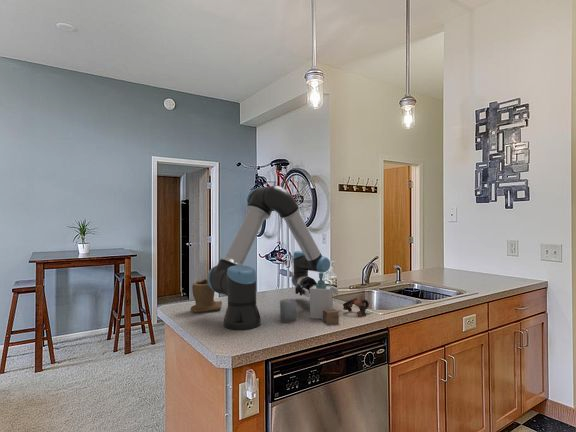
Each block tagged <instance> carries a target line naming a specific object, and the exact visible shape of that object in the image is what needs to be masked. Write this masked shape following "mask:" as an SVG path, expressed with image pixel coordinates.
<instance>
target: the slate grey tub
mask: <svg viewBox="0 0 576 432" xmlns="http://www.w3.org/2000/svg"><path fill="white" fill-rule="evenodd" d="M297 309H298V308H297V300H296V299H293V298H289V299H288V298H287V299H281V300H280V301H279V311H280V312H279V313H280V314H279V317H280V322H282V321H283V323H294V322H296V321H297V320H298V318H297V317H298V315H297V314H298V312H297V311H298V310H297Z"/></svg>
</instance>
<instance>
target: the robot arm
mask: <svg viewBox="0 0 576 432" xmlns="http://www.w3.org/2000/svg"><path fill="white" fill-rule="evenodd" d="M246 202H247V204H246V205H247V206H246V211H247V214H246V215H245V217H244V219H243V221H242V223H241V225H240V227H239V228H238V231H237V232H236V235H235V237H234V239H233V241H232V243H231V244H230V247H229V249H228V251H227V253H226V255H225V257H222V258H220V259H219V260H218V263H217V265H214V266H212V267H211V268H210V269H209V271H208V273H207V278H206V279H207V282H208V285H209V287H210V288H211V289H212V290H213V291H215V293H218V294H220V295H221V294H222V295H225V296H227V308H226V311H225V315H224V317H223V327H224V328H225V329H228V330H235V331H237V330H250V329H251V330H252V329H255V328H257V327H259V326H261V325H262V318H261V315H260V311H259V308H258V305H257V274H256V273H257V272H256V270H255V268H253V267H251V266H249V265H244V263H245V261H246V259H247V257H248V255H249V252H250V250H251V248H252V247H253V244H254V242H255V240H256V238H257V236H258V234H259V232H260V229H261V227H262V225H263V224H264V221H265V220H268V219H270V216H271V214H272V213H273V212H276V213H277V214H278V215H279V217H280V219H283V220H284V221H285V223H286V225H287V227H288V228H289V230H290V232H291V234H292V236H293V238H294V240H295V241H296V243H297V245H298V246H299V248H300V250H295V251H293V257H292V261H293V262H292V265H293V266H292V267H293V274H292V276H291V283H292V285H293V286H294V287H295V289H294V290H295V295H298V294H299V296H305V297H306V298H310V288H311V287H312V286H313V285H316V284H317V283H318V282H317V281H316V280H315V279H314V278H312V277H310V276H309V272H310V271H311V272H315V273H320V272H324V273H327V272H328V271H329V270H330V268H331V261H330V259H329V258H328V257H326V256H323V255H322V253H321V251H320V249H319V247H318V245H317V244H316V241H315V240H314V238H313V236H312V234H311V232H310V230H309V228H308V227H307V224H306V223H305V221H304V219H303V217H302V216H301V214H300V211H299V210H300V207H299V205H298V204H297V202H296V200H295V198H294V197H293V196H292V194H291V193H290V192H289V191H288V190H287V189H285V188H284V187H282V186H280V185H271V186H259V187H257V188H254V189H252V190H251V191H250V192H248V195H247V197H246ZM324 283H325V282H324ZM325 284H326V285H332V294H334V295H339V288H338V285H337V284H335V283H332V284H331V283H325Z"/></svg>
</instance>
